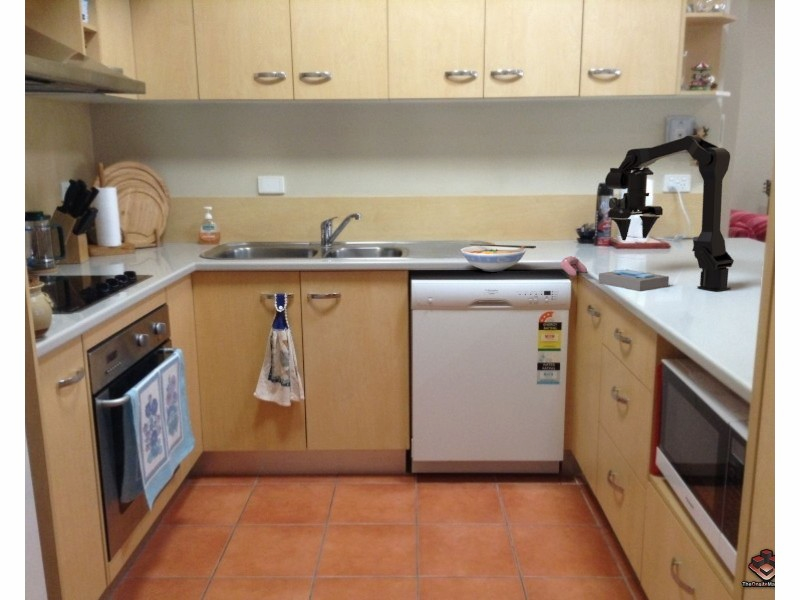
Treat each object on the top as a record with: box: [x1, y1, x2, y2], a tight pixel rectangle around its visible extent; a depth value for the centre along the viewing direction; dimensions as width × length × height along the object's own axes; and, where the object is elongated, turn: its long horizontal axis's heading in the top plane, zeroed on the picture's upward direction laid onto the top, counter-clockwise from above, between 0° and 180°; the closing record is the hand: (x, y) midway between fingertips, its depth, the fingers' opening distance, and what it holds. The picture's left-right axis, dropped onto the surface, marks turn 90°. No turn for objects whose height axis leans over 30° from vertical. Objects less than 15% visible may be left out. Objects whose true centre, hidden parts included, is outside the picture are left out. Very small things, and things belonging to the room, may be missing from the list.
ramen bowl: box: [460, 243, 537, 273], centre depth 232 cm, size 25×23×8 cm
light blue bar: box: [613, 268, 654, 278], centre depth 200 cm, size 4×12×4 cm, turn 29°
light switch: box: [598, 269, 670, 292], centre depth 200 cm, size 16×12×3 cm
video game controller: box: [560, 256, 588, 277], centre depth 221 cm, size 10×5×7 cm, turn 142°
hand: (634, 239), depth 212 cm, fingers open, 9 cm apart
